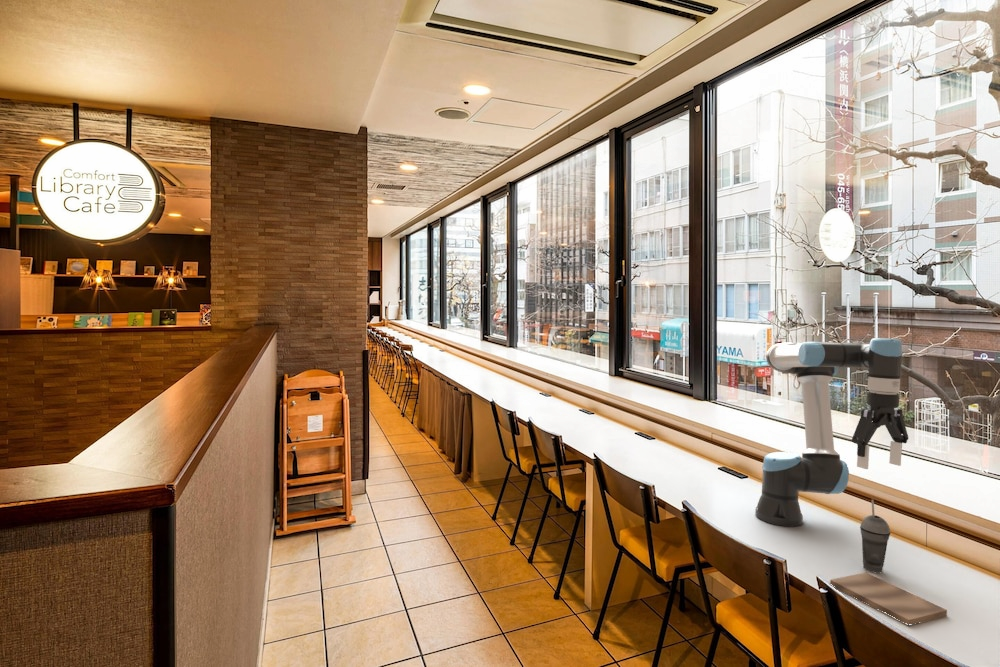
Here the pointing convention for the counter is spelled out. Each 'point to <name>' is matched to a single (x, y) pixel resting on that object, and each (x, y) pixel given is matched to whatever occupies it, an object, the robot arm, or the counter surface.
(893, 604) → the serving board
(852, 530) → the counter surface
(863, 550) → the beverage cup
